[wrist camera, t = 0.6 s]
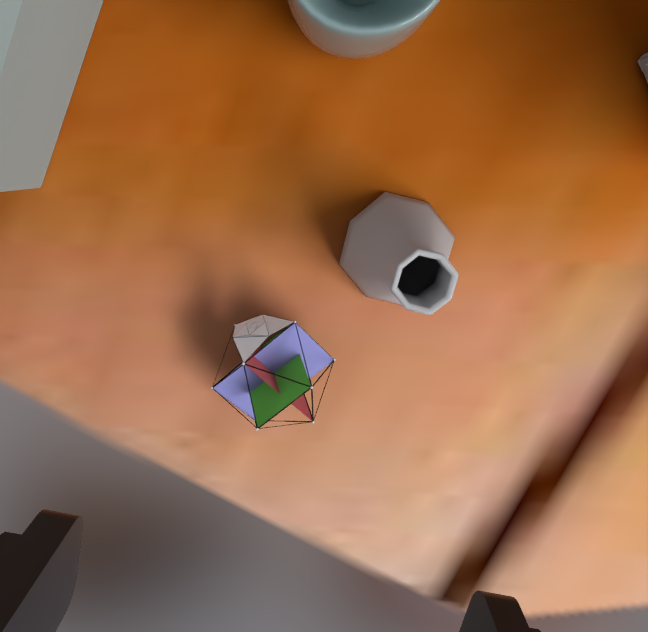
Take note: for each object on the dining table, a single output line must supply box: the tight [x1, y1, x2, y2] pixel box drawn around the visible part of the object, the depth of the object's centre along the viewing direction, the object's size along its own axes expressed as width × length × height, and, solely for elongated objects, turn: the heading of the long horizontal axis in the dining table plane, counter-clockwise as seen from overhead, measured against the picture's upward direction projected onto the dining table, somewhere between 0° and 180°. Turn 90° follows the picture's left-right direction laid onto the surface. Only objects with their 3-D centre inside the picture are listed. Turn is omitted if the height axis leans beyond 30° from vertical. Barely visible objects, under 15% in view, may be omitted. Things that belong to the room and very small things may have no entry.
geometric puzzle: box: [211, 314, 335, 430], centre depth 36 cm, size 7×7×8 cm
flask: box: [339, 192, 459, 315], centre depth 32 cm, size 7×7×10 cm
